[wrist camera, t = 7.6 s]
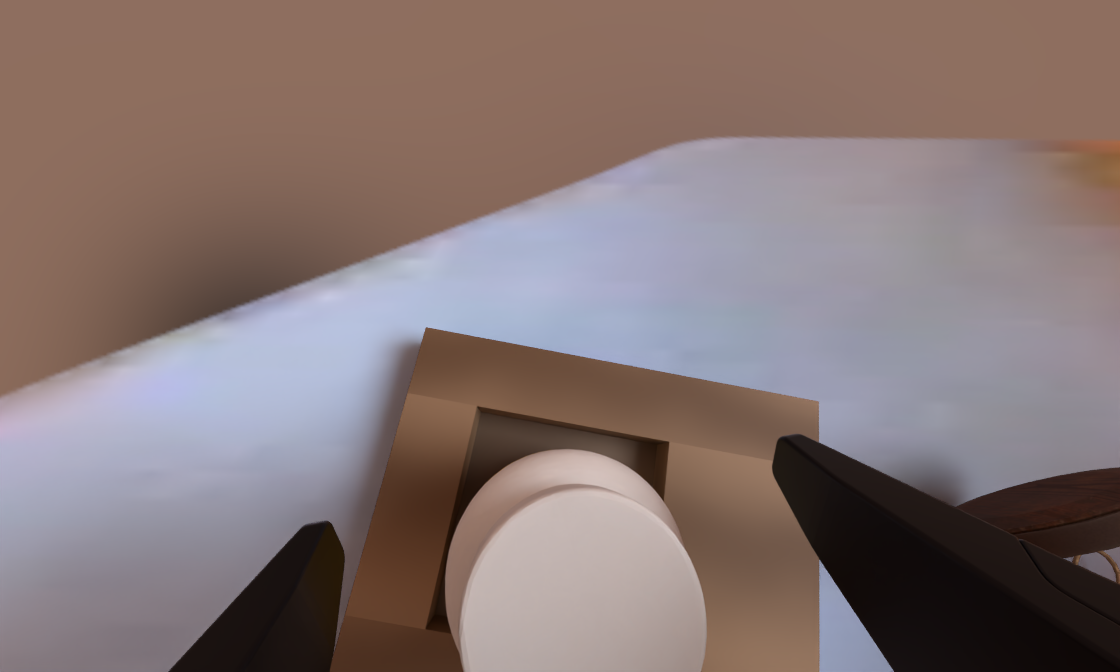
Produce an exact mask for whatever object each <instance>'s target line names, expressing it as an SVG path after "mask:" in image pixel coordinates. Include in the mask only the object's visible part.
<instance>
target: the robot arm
mask: <svg viewBox="0 0 1120 672" xmlns="http://www.w3.org/2000/svg"><path fill="white" fill-rule="evenodd" d="M772 472H773V476H774V478H775V480H776V482H777V484H778V486H779V488H780V489H781V491H782V493H783V495H784V497H785V499H786V501H787V503H788V504H789V506H790V508H791V510H792V512H793V514H794V516H795V518H796V519H797V521H798V523H799V525H800V527H801V529H802V531H803V532H804V534H805V536H806V538H807V540H808V541H809V543H810V545H811V547H812V548H813V550H814V551H815V553H816V555H817V556H818V558H819V559H820V561H821V562H822V564H823V565H824V567H825V568H826V570H827V571H828V573H829V574H830V576H831V577H832V579H833V580H834V582H835V583H836V585H837V586H838V588H839V589H840V591H841V592H842V594H843V595H844V597H845V598H846V600H847V601H848V603H849V604H850V606H851V607H852V609H853V610H854V612H855V613H856V615H857V616H858V618H859V619H860V621H861V622H862V624H863V625H864V627H865V628H866V630H867V631H868V633H869V634H870V636H871V637H872V639H873V640H874V642H875V643H876V645H877V646H878V648H879V649H880V651H881V652H882V654H883V655H884V657H885V658H886V660H887V661H888V663H889V664H890V666H891V667H892V669H893V670H894V672H1120V584H1119V583H1116V582H1114V581H1112V580H1109V579H1107V578H1105V577H1102V576H1100V575H1098V574H1096V573H1093V572H1091V571H1089V570H1087V569H1085V568H1083V567H1080V566H1078V565H1076V564H1074V563H1072V562H1070V561H1067V560H1065V559H1063V558H1061V557H1059V556H1057V555H1054V554H1052V553H1050V552H1048V551H1046V550H1044V549H1042V548H1040V547H1038V546H1035V545H1033V544H1031V543H1029V542H1027V541H1025V540H1023V539H1019V540H1018V538H1017V537H1016V536H1014V535H1012V534H1010V533H1008V532H1006V531H1004V530H1002V529H1000V528H997V527H995V526H993V525H991V524H989V523H987V522H985V521H983V520H981V519H979V518H976V517H974V516H972V515H970V514H968V513H966V512H964V511H962V510H960V509H958V508H955V507H953V506H951V505H949V504H947V503H945V502H943V501H941V500H939V499H937V498H934V497H932V496H930V495H928V494H926V493H924V492H922V491H920V490H918V489H916V488H913V487H911V486H909V485H907V484H905V483H903V482H901V481H899V480H897V479H895V478H892V477H890V476H888V475H886V474H884V473H882V472H880V471H878V470H876V469H874V468H871V467H869V466H867V465H865V464H863V463H861V462H859V461H857V460H855V459H853V458H850V457H848V456H846V455H844V454H842V453H840V452H838V451H836V450H834V449H832V448H829V447H827V446H825V445H823V444H821V443H819V442H817V441H815V440H813V439H811V438H808V437H806V436H804V435H802V434H791V435H785V436H781V437H780V438H779V439H778V440H777V443H776V448H775V453H774V458H773V463H772ZM344 563H345V556H344V550H343V547H342V545H341V543H340V541H339V539H338V536H337V534H336V532H335V530H334V527H333V525H332V524H331V523H330V522H329V521H321V522H316V523H310V524H306V525H304V526H303V527H302V528H301V529H300V530H299V531H298V532H297V533H296V534H295V535H294V536H293V537H292V538H291V539H290V540H289V541H288V543H287V544H286V545H285V546H284V547H283V548H282V549H281V550H280V551H279V552H278V553H277V554H276V556H275V557H274V558H273V559H272V560H271V561H270V562H269V563H268V564H267V565H266V566H265V567H264V569H263V570H262V571H261V572H260V573H259V574H258V575H257V576H256V577H255V578H254V579H253V580H252V582H251V583H250V584H249V585H248V586H247V587H246V588H245V589H244V590H243V591H242V592H241V593H240V595H239V596H238V597H237V598H236V599H235V600H234V601H233V602H232V603H231V604H230V605H229V606H228V608H227V609H226V610H225V611H224V612H223V613H222V614H221V615H220V616H219V617H218V618H217V619H216V621H215V622H214V623H213V624H212V625H211V626H210V627H209V628H208V629H207V630H206V631H205V632H204V634H203V635H202V636H201V637H200V638H199V639H198V640H197V641H196V642H195V643H194V644H193V646H192V647H191V648H190V649H189V650H188V651H187V652H186V653H185V654H184V655H183V656H182V657H181V659H180V660H179V661H178V662H177V663H176V664H175V665H174V666H173V667H172V668H171V669H170V670H169V672H330V667H331V662H332V657H333V653H334V646H335V639H336V631H337V622H338V614H339V605H340V597H341V589H342V580H343V572H344Z"/></svg>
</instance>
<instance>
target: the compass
mask: <svg viewBox="0 0 1120 672" xmlns="http://www.w3.org/2000/svg"><path fill="white" fill-rule="evenodd" d="M955 508H958V509H960V510H962V511H964V512H966V513H968V514H970V515H972V516H974V517H976V518H979V519H981V520H983V521H985V522H987V523H989V524H991V525H993V526H995V527H997V528H1000V529H1002V530H1004V531H1006V532H1008V533H1010V534H1012V535H1014V536H1016V537H1017V538H1018V540H1019V539H1023V540H1025V541H1027V542H1029V543H1031V544H1033V545H1035V546H1038V547H1040V548H1042V549H1044V550H1046V551H1048V552H1050V553H1052V554H1054V555H1057V556H1059V557H1061V558H1068V557H1073V556H1074V558H1073V561H1072V563H1074V564H1076V565H1078V562H1079V559H1080V556H1081V555H1083V554H1088V553H1093V552H1098V553H1099V554H1101V555H1102V556H1104V557H1105V558H1106V559H1107V560H1108V561H1109V563H1110V564H1111V565H1112V567H1113V569H1114V572H1115V574H1116V582H1117V583H1119V584H1120V570H1119V568H1118V566H1117V564H1116V563H1115V562H1114V560H1113V559H1112V558H1111V557H1110V556H1109V555H1108V554H1106V553H1105V552H1103V551H1104V550H1109V549H1113V548H1116V547H1120V468H1108V469H1099V470H1090V471H1084V472H1078V473H1072V474H1066V475H1060V476H1055V477H1050V478H1046V479H1041V480H1037V481H1032V482H1028V483H1024V484H1021V485H1017V486H1013V487H1009V488H1006V489H1002V490H999V491H996V492H993V493H990V494H987V495H984V496H981V497H978V498H976V499H973V500H971V501H968V502H966V503H963V504H961V505H959V506H957V507H955Z"/></svg>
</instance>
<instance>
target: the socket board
mask: <svg viewBox="0 0 1120 672" xmlns="http://www.w3.org/2000/svg"><path fill="white" fill-rule="evenodd" d="M791 434H802V435H804V436H806V437H808V438H811V439H813V440H815V441H817V442H819V402H818V401H813V400H808V399H802V398H797V397H792V396H787V395H781V394H776V393H771V392H765V391H760V390H755V389H750V388H744V387H739V386H734V385H728V384H723V383H718V382H713V381H707V380H702V379H697V378H691V377H686V376H681V375H675V374H670V373H665V372H660V371H654V370H649V369H644V368H638V367H633V366H628V365H623V364H617V363H612V362H607V361H601V360H596V359H591V358H586V357H580V356H575V355H570V354H564V353H559V352H554V351H549V350H543V349H538V348H533V347H527V346H522V345H517V344H511V343H506V342H501V341H496V340H490V339H485V338H480V337H474V336H469V335H464V334H459V333H453V332H448V331H443V330H437V329H432V328H427V327H426V329H425V332H424V336H423V340H422V343H421V347H420V350H419V354H418V357H417V361H416V364H415V368H414V371H413V375H412V379H411V382H410V386H409V389H408V393H407V396H406V400H405V403H404V407H403V410H402V414H401V418H400V421H399V425H398V428H397V432H396V435H395V439H394V442H393V446H392V449H391V453H390V457H389V460H388V464H387V467H386V471H385V474H384V478H383V481H382V485H381V488H380V492H379V496H378V499H377V503H376V506H375V510H374V513H373V517H372V520H371V524H370V527H369V531H368V535H367V538H366V542H365V545H364V549H363V552H362V556H361V559H360V563H359V566H358V570H357V574H356V577H355V581H354V584H353V588H352V591H351V595H350V598H349V602H348V605H347V609H346V613H345V616H344V620H343V623H342V627H341V630H340V634H339V637H338V641H337V644H336V648H335V652H334V655H333V659H332V662H331V667H330V672H463V668H462V664H461V659H460V653H459V651H458V649H457V646H456V644H455V641H454V639H453V636H452V633H451V629H450V626H449V622H448V617H447V612H446V600H445V575H446V565H447V559H448V553H449V549H450V546H451V542H452V539H453V536H454V533H455V531H456V528H457V526H458V523H459V521H460V519H461V518H462V516H463V514H464V512H465V510H466V508H467V507H468V505H469V503H470V502H471V501H472V499H473V498H474V496H475V495H476V494H477V493H478V491H479V490H480V489H481V488H482V487H483V485H484V484H485V483H486V482H487V481H488V480H489V479H491V478H492V477H493V476H494V475H495V474H496V473H498V472H499V471H500V470H501V469H503V468H504V467H506V466H507V465H509V464H511V463H512V462H515V461H517V460H519V459H521V458H523V457H526V456H528V455H531V454H534V453H538V452H542V451H548V450H559V449H574V450H584V451H590V452H594V453H598V454H601V455H604V456H607V457H609V458H611V459H614V460H616V461H618V462H620V463H622V464H624V465H625V466H627V467H629V468H630V469H632V470H633V471H634V472H636V473H637V474H638V475H640V476H641V477H642V478H643V479H644V480H645V481H646V482H647V483H648V484H649V485H650V486H651V487H652V488H653V489H654V490H655V491H656V492H657V494H658V495H659V496H660V497H661V499H662V500H663V502H664V503H665V505H666V506H667V508H668V509H669V511H670V513H671V514H672V516H673V518H674V520H675V522H676V524H677V527H678V529H679V532H680V535H681V538H682V541H683V544H684V548H685V550H686V552H687V554H688V556H689V557H690V560H691V562H692V564H693V566H694V568H695V571H696V573H697V576H698V579H699V582H700V585H701V589H702V593H703V598H704V604H705V611H706V626H707V638H706V649H705V657H704V661H703V665H702V669H701V672H819V558H818V556H817V555H816V553H815V551H814V550H813V548H812V547H811V545H810V543H809V541H808V540H807V538H806V536H805V534H804V532H803V531H802V529H801V527H800V525H799V523H798V521H797V519H796V518H795V516H794V514H793V512H792V510H791V508H790V506H789V504H788V503H787V501H786V499H785V497H784V495H783V493H782V491H781V489H780V488H779V486H778V484H777V482H776V480H775V478H774V476H773V472H772V463H773V458H774V453H775V448H776V443H777V440H778V439H779V438H780V437H781V436H785V435H791Z"/></svg>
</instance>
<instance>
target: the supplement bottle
mask: <svg viewBox="0 0 1120 672" xmlns="http://www.w3.org/2000/svg"><path fill="white" fill-rule="evenodd" d="M445 600H446V612H447V617H448V622H449V626H450V629H451V633H452V636H453V639H454V641H455V644H456V646H457V649H458V651H459V653H460V659H461V664H462V668H463V672H701V669H702V665H703V661H704V657H705V649H706V638H707V626H706V611H705V604H704V598H703V593H702V589H701V585H700V582H699V579H698V576H697V573H696V571H695V568H694V566H693V564H692V562H691V560H690V557H689V556H688V554H687V552H686V550H685V548H684V544H683V541H682V538H681V535H680V532H679V529H678V527H677V524H676V522H675V520H674V518H673V516H672V514H671V513H670V511H669V509H668V508H667V506H666V505H665V503H664V502H663V500H662V499H661V497H660V496H659V495H658V494H657V492H656V491H655V490H654V489H653V488H652V487H651V486H650V485H649V484H648V483H647V482H646V481H645V480H644V479H643V478H642V477H641V476H640V475H638V474H637V473H636V472H634V471H633V470H632V469H630V468H629V467H627V466H625V465H624V464H622V463H620V462H618V461H616V460H614V459H611V458H609V457H607V456H604V455H601V454H598V453H594V452H590V451H584V450H574V449H559V450H548V451H542V452H538V453H534V454H531V455H528V456H526V457H523V458H521V459H519V460H517V461H515V462H512V463H511V464H509V465H507V466H506V467H504V468H503V469H501V470H500V471H499V472H498V473H496V474H495V475H494V476H493V477H492V478H491V479H489V480H488V481H487V482H486V483H485V484H484V485H483V487H482V488H481V489H480V490H479V491H478V493H477V494H476V495H475V496H474V498H473V499H472V501H471V502H470V503H469V505H468V507H467V508H466V510H465V512H464V514H463V516H462V518H461V519H460V521H459V523H458V526H457V528H456V531H455V533H454V536H453V539H452V542H451V546H450V549H449V553H448V559H447V565H446V575H445Z"/></svg>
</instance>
